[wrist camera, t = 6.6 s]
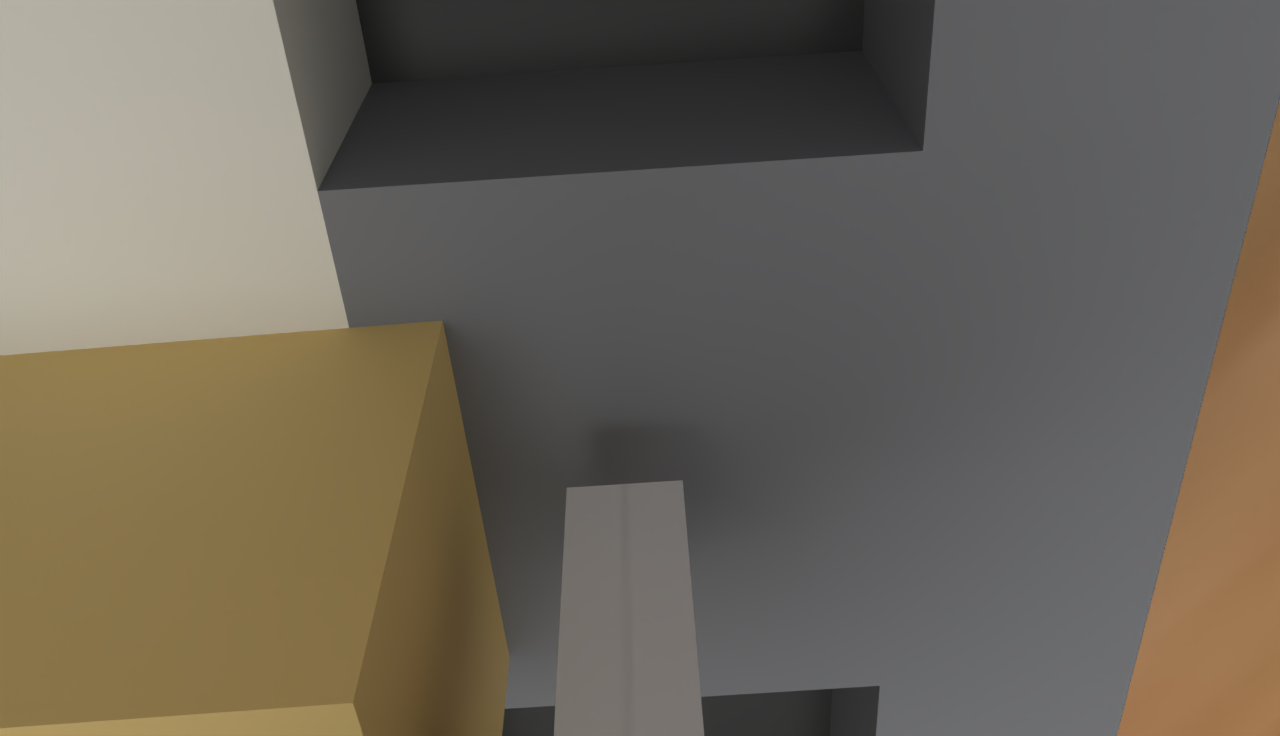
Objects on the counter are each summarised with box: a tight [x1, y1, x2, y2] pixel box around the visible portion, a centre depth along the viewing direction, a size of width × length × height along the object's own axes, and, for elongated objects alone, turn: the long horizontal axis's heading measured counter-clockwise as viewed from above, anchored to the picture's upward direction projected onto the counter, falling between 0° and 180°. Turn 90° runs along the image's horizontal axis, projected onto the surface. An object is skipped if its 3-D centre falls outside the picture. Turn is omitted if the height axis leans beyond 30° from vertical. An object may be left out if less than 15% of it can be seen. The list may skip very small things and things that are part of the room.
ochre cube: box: [0, 321, 509, 736], centre depth 13 cm, size 6×6×6 cm
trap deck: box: [0, 0, 1280, 736], centre depth 16 cm, size 18×26×7 cm
